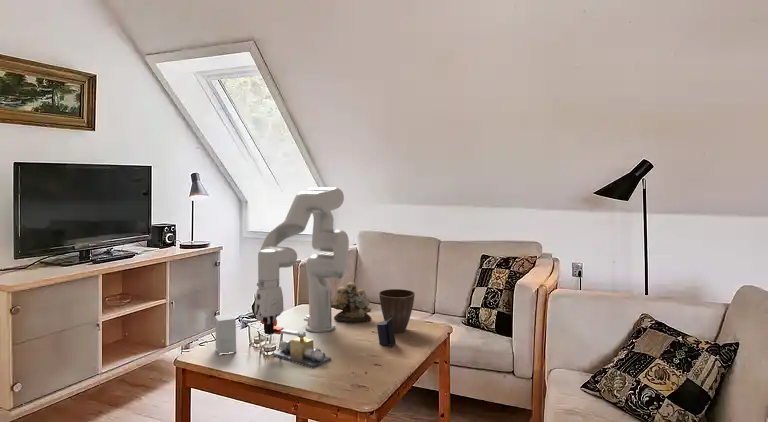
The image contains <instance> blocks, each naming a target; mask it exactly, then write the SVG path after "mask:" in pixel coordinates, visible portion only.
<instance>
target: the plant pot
mask: <svg viewBox="0 0 768 422" xmlns="http://www.w3.org/2000/svg"><path fill="white" fill-rule="evenodd" d="M378 295H379V301H380V302H379V303H380V307H381V313H382V316H383V321H388V320H389V319H390V318H392V320H393V327H394V333H395V334H400V333H404V332H405V331H406V329H407V327H408V324H409V321H410V318H411V315H412V311H413V306H414V302H415V295H416V293H415V292H414V291H412V290H407V289H401V288H397V289H396V288H393V289H384V290H382V291H381V290H380V291H379V292H378Z"/></svg>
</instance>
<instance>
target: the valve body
mask: <svg viewBox="0 0 768 422" xmlns="http://www.w3.org/2000/svg"><path fill="white" fill-rule="evenodd" d="M279 349H280V350H279V351H276V352H273V356H274V355H276V356H278V357H277V358H279V357H281V358H280V359H282V358H284V359H283V360H286V359H287V361H289V360H290V361H289V362H292V361H294V362H293V363H295V362H297V363H296V364H298V363H300V364H299V365H301V364H303V365H302V366H305V365H306V366H305V367H308V366H309V367H308V368H311V367H312V369H314V367H315V368H317V367H319V366H322V365H324V364H327V363H329V362H332V357H331V356H330V357H329V356H326V353H325V352H323V351H322V350H321V349H320V348H314V339H313V338H307V337H306V336H305V337H296V338H293V339H290V340H287V341H286V340H284V341H281V343H280V344H279ZM276 356H275V357H276Z"/></svg>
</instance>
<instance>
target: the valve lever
mask: <svg viewBox="0 0 768 422" xmlns="http://www.w3.org/2000/svg"><path fill="white" fill-rule="evenodd" d="M274 334H275V335H282V334H283V335H288V336H289V335H291V336H295V337H297V338H299V337H305V338H306V336H307V333H306V331H296V330H290V329H285V328H284V327H282V326H281V327H280V326H277V325H276V326H274ZM274 334H273V335H274Z"/></svg>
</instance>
